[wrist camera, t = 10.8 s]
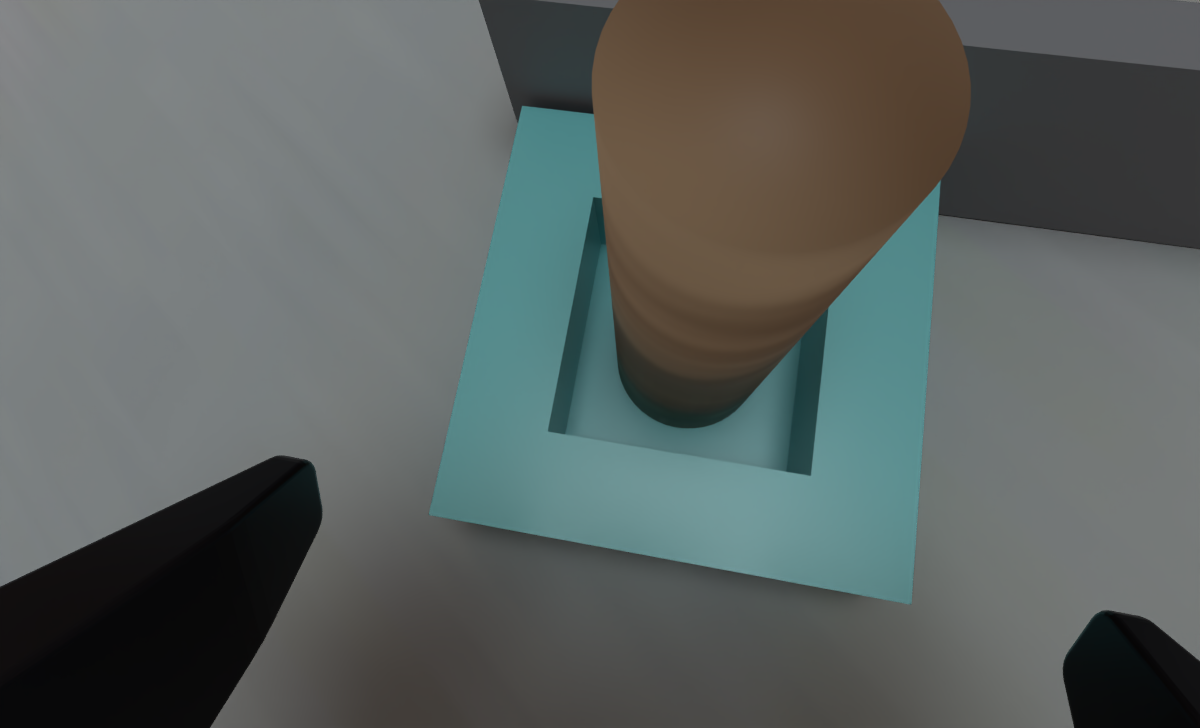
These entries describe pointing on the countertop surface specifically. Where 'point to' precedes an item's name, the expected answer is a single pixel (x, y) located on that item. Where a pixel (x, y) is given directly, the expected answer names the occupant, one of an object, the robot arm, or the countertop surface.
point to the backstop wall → (991, 106)
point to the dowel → (758, 175)
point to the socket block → (685, 455)
